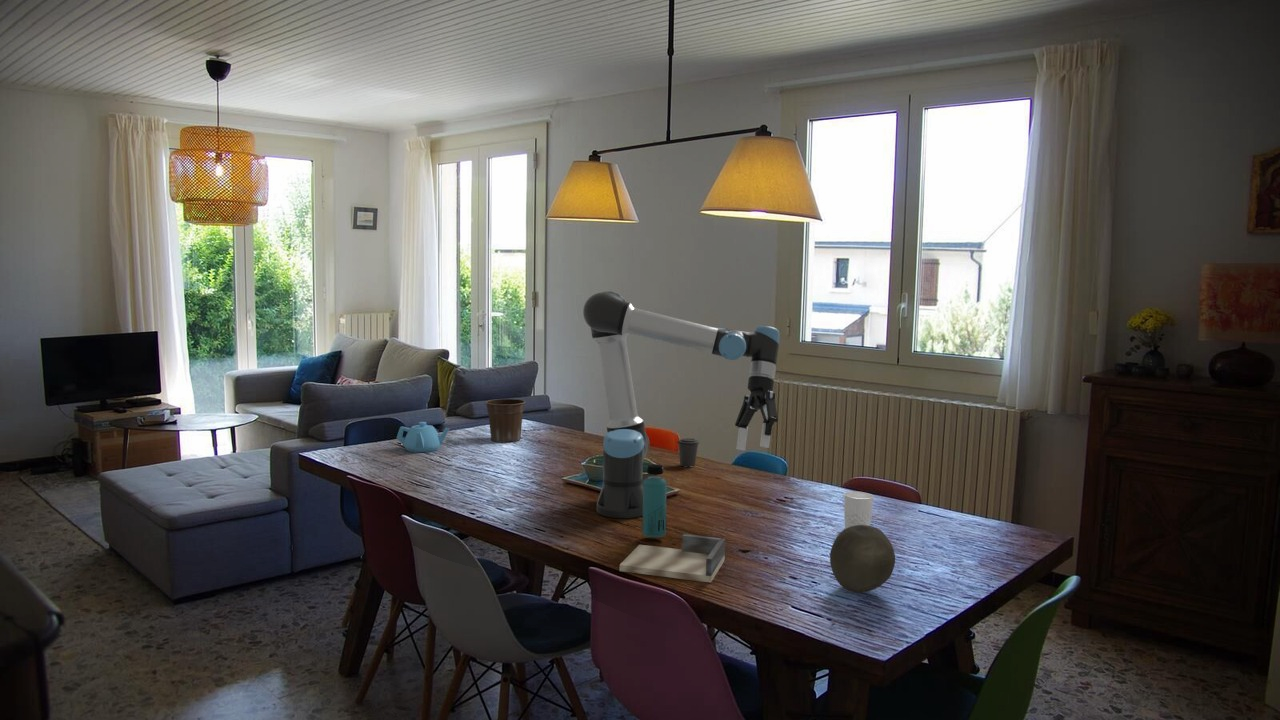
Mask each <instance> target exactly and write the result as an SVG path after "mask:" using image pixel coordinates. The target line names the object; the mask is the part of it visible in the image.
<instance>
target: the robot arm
mask: <svg viewBox="0 0 1280 720" xmlns="http://www.w3.org/2000/svg"><path fill="white" fill-rule="evenodd" d="M582 309H583V312H582V314H583V319H584V321H585V323H586V324H587V326H588V327H590V331H591V337H592V340H594V342H595V343H597V344H598V350H599V351H598V352H599V356H600V358H599V359H600V363H601V370H602V376H603V382H604V388H605V389H604V390H605V393H606V394H605V395H606V400H607V407H608V412H609V419H610V420H609V422H608V423H607V424H606V431H607V432H606V433H605V435H604V437H603V442H602V449H603V453H602V454H603V456H602V457H603V460H602V462H603V463H602V464H603V465H602V466H603V467H602V486H601V490H600V493H599V496H598V499H597V502H596V512H597V514H599V515H601V516H604V517H608V518H615V519H633V518H638V517H643V511H642V510H643V481H644V480H643V478H644V477H643V476H644V475H643V473H644V472H643V471H644V469H643V467H644V461H645V458H646V457H647V456H648V453H649V449H650V440H649V436H648V434H647V433H646V427H645V421H644V419H643V418H641V417H640V416H639V415H638V408H637V402H636V395H635V390H634V389H635V388H634V383H633V376H632V370H631V363H630V358H629V350H628V346H627V345H628V343H627V337H628V336H629V335H630V334H631V335H634V336H638V337H642V338H645V339H646V338H647V339H651V340H654V341H658V342H663V343H665V344H666V343H667V344H671V345H674V346H679V347H683V348H687V349H690V350H695V351H698V352H704V353H707V354H712V355H713V356H714V355H715V356H719V357H722V358H724V359H726V360H728V361H729V360H730V361H736V360H739V359H740V358H741V357H747V358H751V360H750V366H749V373H748V375H749V377H748V382H747V389H748V390H749V391H750V395H744V397H743V401H742V405H741V407H740V410H739V413H738V416H737V418H736V421H735V424H734V426H735V427H737V428H738V432H737V433H738V434H737V438H736V439H737V440H736V448H735V450H739V451H744V452H745V451H746V448H747V439H748V433H749V427H748V426H749V424H750V423H751V420H752V418H753V417H754V415H755V413H756V412H758V411H759V410H760V413H761V416H762V419H763V421H762V425H761V433H760V441H759V447H761V448H767V449H769V448H770V445H771V444H770V443H771V436H772V430H773V425H774V423H777V422H778V420H779V419H778V413H777V411H778V410H777V406H776V405H777V404H776V398H775V397H776V392H775V391H774V385H775V381H774V380H775V376H776V373H777V372H776V371H777V370H776V367H777V361H778V354H779V348H780V337H781V335H780V334H781V333H780V331H779V329H777V328H776V327H773V326H767V325H760V326H757V327H756V328H755V331H754V332H753V331H743V330H737V329H732V328H731V329H730V328H724V327H723V328H722V327H714V326H713V327H712V326H709V325H705V324H701V323H696V322H693V321H688V320H685V319H681V318H676V317H672V316H668V315H665V314H660V313H657V312H652V311H648V310H645V309H642V308H637V307H634V306H633V304H632V303H631V302H627V301H626V300H625V299H624V297H622V296H621V295H620V294H619V293H617V292H614V291H603V292H597V293H595V294H592V295H591V296H590V297H589V298H587V299H586V301H585V303H584V305H583V308H582Z"/></svg>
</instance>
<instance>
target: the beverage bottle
mask: <svg viewBox="0 0 1280 720" xmlns="http://www.w3.org/2000/svg"><path fill="white" fill-rule="evenodd" d="M663 467H664V466H663V465H662V464H657V463H656V464H655V463H654V464H648V466H647V471H646V472H647V475H651V476H648V477H646V478H645V479H644V480H642V486H643V510H642V511H643V516H642V528H641V531H642V535H643V536H645V537H647V538H661V537H664V536H665V535H666V533H667V523H668V521H667V520H668V519H667V503H668V501H667V500H668V498H667V497H668V494H667V485H668V484H667V483H668V481H666V479H665V478H664V477H662V476H658V475H663V474H664V470H663V469H664V468H663ZM652 475H653V476H652ZM656 475H657V476H656Z"/></svg>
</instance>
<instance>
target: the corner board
mask: <svg viewBox="0 0 1280 720" xmlns="http://www.w3.org/2000/svg"><path fill="white" fill-rule="evenodd" d="M725 552H726V538H723V537H722V538H721V537H714V536H713V537H711V536H703V535H695V534H694V535H693V534H686V533H683V534H682V535H681V548H672V547H664V546H655V545H646V544H645V545H644V544H638V545H637V546H636V548H634V549H633V551H631V552H630V553H629V554H628V556H627V557H626V558H625V559H624V560H623V561H622V562H621V563H620V564H619V572H624V573H633V574H639V575H648V576H649V575H650V576H656V577H664V578H670V579H671V578H673V579H679V580H688V581H695V582H703V583H710V584H711V583H712V581H713V580H714V578H715V576H716V575H717V573H718V572H719V570H720V569H721V567H722V565H723V564H724V562H725V555H726V553H725Z"/></svg>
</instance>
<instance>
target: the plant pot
mask: <svg viewBox="0 0 1280 720" xmlns="http://www.w3.org/2000/svg"><path fill="white" fill-rule="evenodd" d="M485 404H486V409H487V413H488V423H489V432H490V440H491V441H492V442H496V443H509V442H512V443H515V442H518V441H520V440H521V438H522V427H523V426H522V425H523V415H524V413H523V412H524V409H525V404H526V400H525V399H519V398H518V399H517V398H499V399H498V398H496V399H489V400H487V401H485Z"/></svg>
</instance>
